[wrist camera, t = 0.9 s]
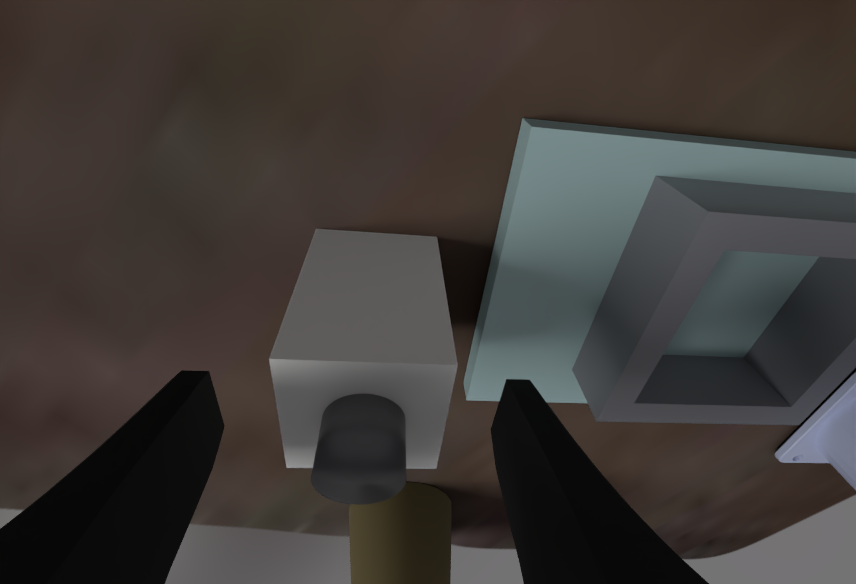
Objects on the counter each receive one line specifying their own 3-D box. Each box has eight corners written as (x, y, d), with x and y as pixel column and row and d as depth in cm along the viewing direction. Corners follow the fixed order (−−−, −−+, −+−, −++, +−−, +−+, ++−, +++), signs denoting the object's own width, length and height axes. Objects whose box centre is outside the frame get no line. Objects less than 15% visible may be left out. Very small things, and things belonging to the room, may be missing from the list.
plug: (436, 236, 14) (467, 422, 8) (424, 327, 16) (440, 525, 10) (315, 228, 13) (247, 418, 7) (321, 322, 16) (272, 526, 10)
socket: (992, 165, 14) (1151, 209, 11) (790, 391, 20) (855, 457, 17) (522, 118, 12) (562, 155, 9) (463, 382, 18) (475, 453, 15)
